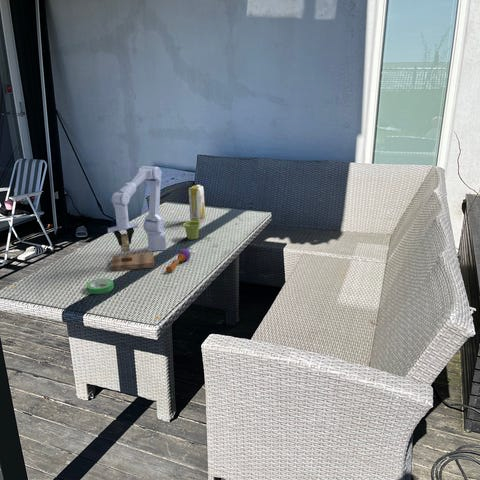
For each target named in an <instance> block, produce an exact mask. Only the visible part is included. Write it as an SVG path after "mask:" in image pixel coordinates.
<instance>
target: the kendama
mask: <svg viewBox="0 0 480 480" xmlns="http://www.w3.org/2000/svg"><path fill="white" fill-rule="evenodd" d="M190 257H191V252H190V250H189V249H187V248H181V249H180V250H179V251H178V254H177V260H175V261H174V262H172V263H171V264H169V265H168V266H166V268H165V270H166V271H165V272H167V273H171V274H172V272H174V270H175V268H176V267H177V266H178V264H179V262H186V261H188V260H189V259H190ZM185 260H186V261H185Z"/></svg>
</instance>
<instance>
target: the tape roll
mask: <svg viewBox="0 0 480 480" xmlns="http://www.w3.org/2000/svg"><path fill="white" fill-rule="evenodd" d="M101 285H103V286H101ZM114 287H115V286H114V281H113V279H111V278H107V277H105V278H97V279H96V278H95V279H94V280H91V281H89V282H88V283H87V284H86V291H87V292H88V293H89V294H92V295H102V294H105V293H109V292H111V291H112V290H113V289H114Z"/></svg>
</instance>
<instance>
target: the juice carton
mask: <svg viewBox="0 0 480 480" xmlns="http://www.w3.org/2000/svg"><path fill="white" fill-rule="evenodd" d="M188 200H189V202H188V203H189V205H188V206H189V219H190V222H191V221H196V222H200V225H201V224H202V223H203V222H205V221H206V220H205V219H206V217H205V216H206V214H205V213H206V212H205V211H206V209H205V189H204V186H203V185H201V184H196V185H193V186H192V187H189V188H188Z"/></svg>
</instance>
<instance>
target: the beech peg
mask: <svg viewBox="0 0 480 480" xmlns="http://www.w3.org/2000/svg"><path fill="white" fill-rule="evenodd" d="M121 242H122V246H120V251H121V252H122V253H127V252H129V251H131V249H130V248H131V247H130V244H129V238H128V234H127V233H121Z"/></svg>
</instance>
